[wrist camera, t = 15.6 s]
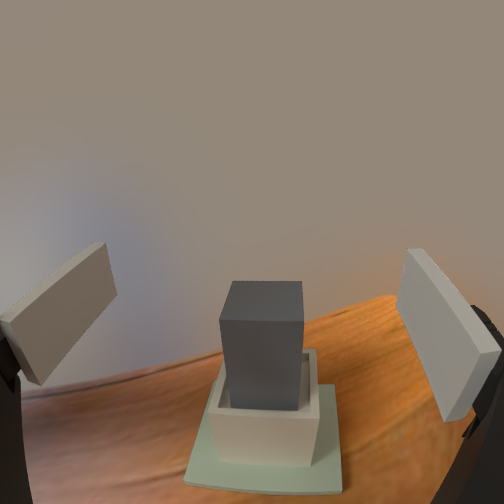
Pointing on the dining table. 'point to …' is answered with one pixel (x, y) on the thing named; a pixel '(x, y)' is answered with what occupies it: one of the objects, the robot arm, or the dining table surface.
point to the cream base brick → (267, 424)
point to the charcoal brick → (263, 344)
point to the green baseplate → (272, 477)
